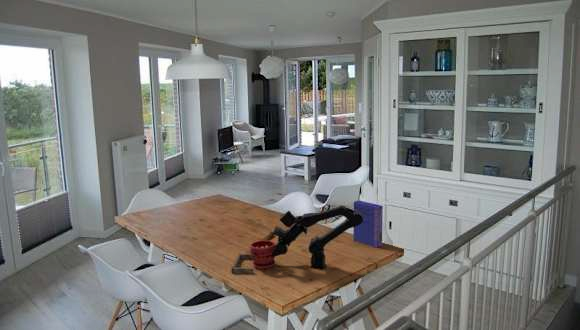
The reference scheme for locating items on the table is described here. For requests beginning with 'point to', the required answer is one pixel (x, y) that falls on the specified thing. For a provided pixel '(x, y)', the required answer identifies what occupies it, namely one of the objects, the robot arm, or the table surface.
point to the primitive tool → (268, 236)
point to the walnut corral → (242, 270)
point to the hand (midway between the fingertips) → (272, 253)
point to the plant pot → (262, 254)
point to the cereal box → (369, 224)
